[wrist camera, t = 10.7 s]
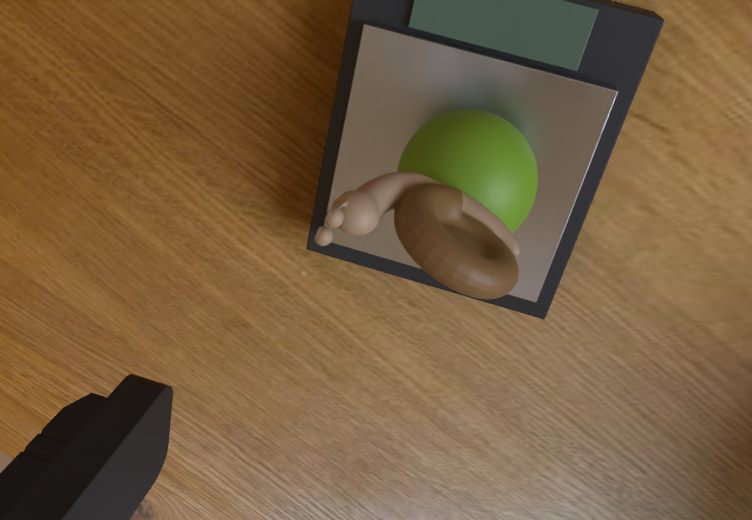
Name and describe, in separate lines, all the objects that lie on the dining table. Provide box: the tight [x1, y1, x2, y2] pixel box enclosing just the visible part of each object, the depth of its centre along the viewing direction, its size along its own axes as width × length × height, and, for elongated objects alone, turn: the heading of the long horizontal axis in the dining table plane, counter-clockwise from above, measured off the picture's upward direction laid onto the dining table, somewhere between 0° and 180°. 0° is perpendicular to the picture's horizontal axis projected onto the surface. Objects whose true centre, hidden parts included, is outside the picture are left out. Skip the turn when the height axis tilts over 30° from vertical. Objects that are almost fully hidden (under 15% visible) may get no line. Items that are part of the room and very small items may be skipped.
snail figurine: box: [314, 109, 538, 299], centre depth 24 cm, size 5×6×12 cm
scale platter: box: [324, 22, 618, 302], centre depth 30 cm, size 10×10×1 cm
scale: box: [306, 0, 664, 319], centre depth 31 cm, size 14×12×3 cm
